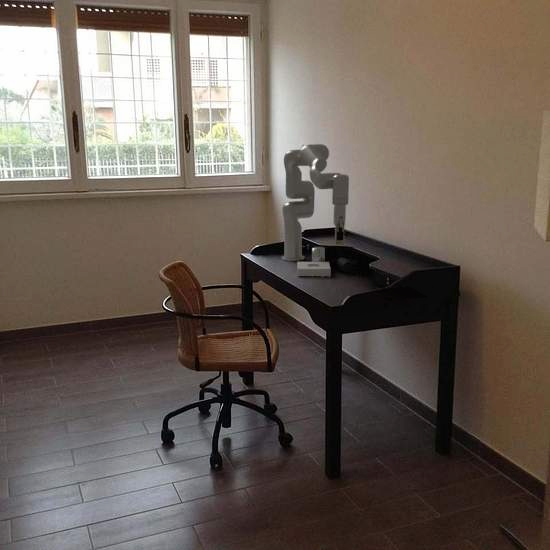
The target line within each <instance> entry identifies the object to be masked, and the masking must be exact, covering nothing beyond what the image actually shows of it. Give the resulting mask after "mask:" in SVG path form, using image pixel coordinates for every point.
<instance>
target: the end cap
mask: <svg viewBox="0 0 550 550" xmlns="http://www.w3.org/2000/svg"><path fill="white" fill-rule="evenodd" d="M357 263H358V262H357V261H356V260H353V258H351V257H350V258H349V257H348V258H345V257H341V256H340V257H339V258H338V259H337V261H336V266H337V267H338V268H339V270H341V271H342V272H343V273H345V274H347V275H355V274H354V273H356V274H357V272H356V271H357V267H352V266H357Z"/></svg>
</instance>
